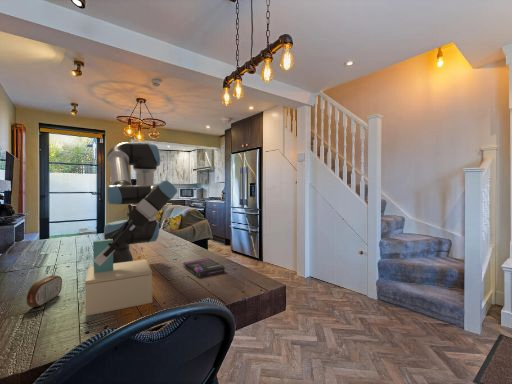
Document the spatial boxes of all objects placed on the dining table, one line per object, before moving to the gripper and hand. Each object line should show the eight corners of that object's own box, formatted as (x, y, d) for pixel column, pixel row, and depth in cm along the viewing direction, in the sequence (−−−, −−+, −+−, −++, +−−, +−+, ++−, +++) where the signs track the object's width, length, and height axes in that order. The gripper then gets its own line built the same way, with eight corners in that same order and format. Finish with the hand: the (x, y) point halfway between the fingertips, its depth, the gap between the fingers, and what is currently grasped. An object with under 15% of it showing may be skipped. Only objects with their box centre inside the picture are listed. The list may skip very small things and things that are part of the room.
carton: (146, 286, 111) (146, 262, 111) (152, 302, 95) (151, 274, 95) (89, 295, 101) (89, 269, 101) (85, 315, 85) (85, 284, 85)
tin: (55, 293, 104) (55, 272, 104) (64, 293, 104) (63, 271, 104) (25, 311, 89) (25, 286, 89) (35, 311, 89) (35, 286, 89)
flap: (146, 261, 111) (145, 232, 110) (151, 273, 95) (151, 240, 94) (89, 269, 101) (88, 237, 101) (85, 284, 85) (84, 246, 85)
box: (183, 269, 137) (197, 279, 120) (183, 262, 137) (196, 271, 120) (208, 264, 144) (225, 273, 128) (208, 257, 144) (224, 265, 128)
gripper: (155, 224, 92) (105, 274, 85) (146, 217, 114) (106, 257, 107) (137, 209, 89) (85, 260, 82) (132, 205, 111) (90, 245, 104)
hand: (97, 258), depth 94 cm, fingers open, 13 cm apart
